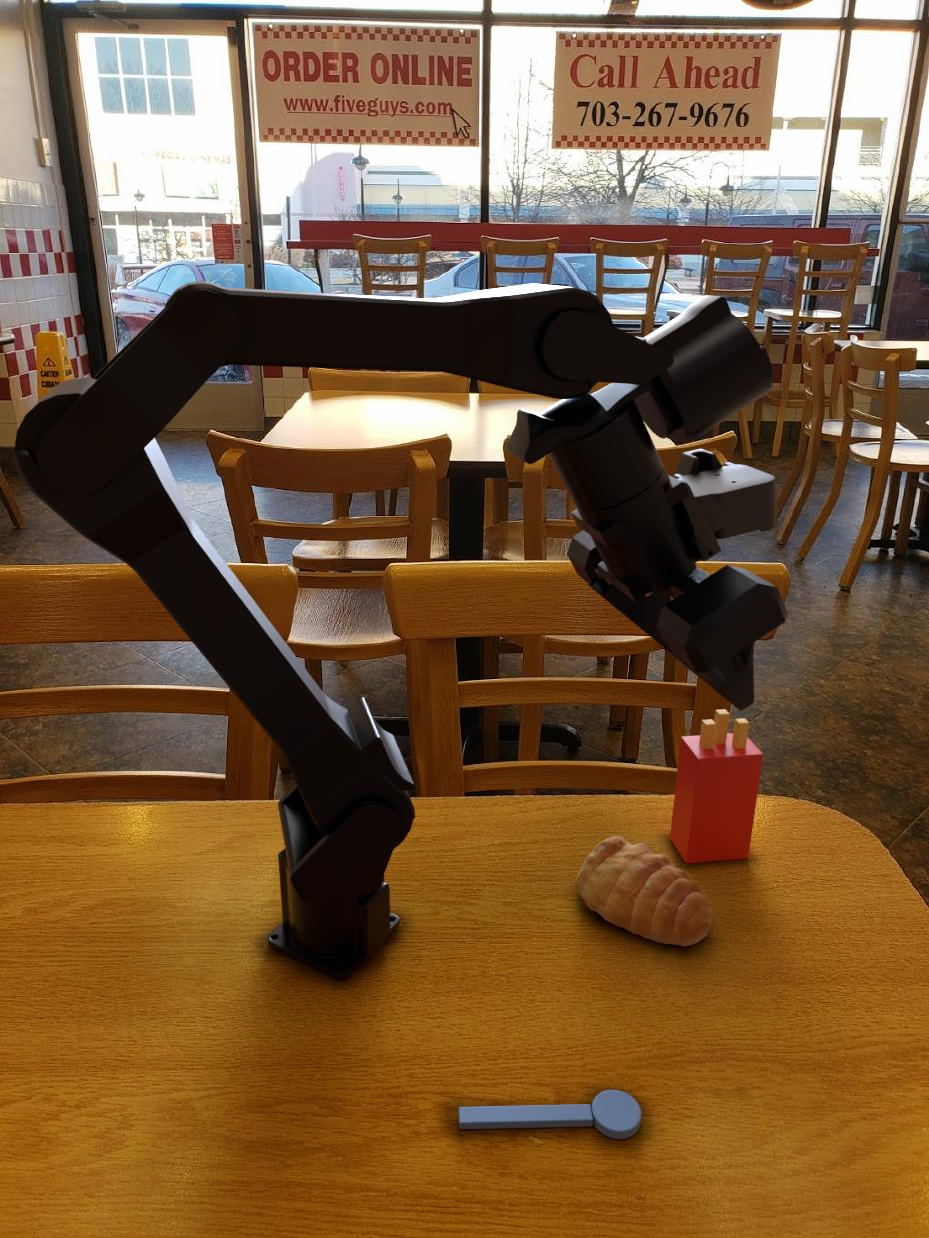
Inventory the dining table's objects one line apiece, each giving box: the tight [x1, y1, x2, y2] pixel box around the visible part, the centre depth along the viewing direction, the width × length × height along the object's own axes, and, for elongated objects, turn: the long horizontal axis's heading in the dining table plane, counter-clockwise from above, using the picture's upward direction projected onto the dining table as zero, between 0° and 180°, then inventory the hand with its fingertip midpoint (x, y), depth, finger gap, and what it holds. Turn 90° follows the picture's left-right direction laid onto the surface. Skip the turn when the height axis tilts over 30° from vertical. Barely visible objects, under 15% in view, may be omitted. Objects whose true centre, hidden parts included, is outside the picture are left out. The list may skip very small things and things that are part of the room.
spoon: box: [457, 1089, 642, 1140], centre depth 49 cm, size 10×3×1 cm, turn 92°
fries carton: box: [669, 708, 764, 864], centre depth 70 cm, size 5×3×12 cm
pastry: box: [574, 835, 715, 947], centre depth 65 cm, size 9×7×4 cm
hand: (709, 676), depth 63 cm, fingers open, 9 cm apart
